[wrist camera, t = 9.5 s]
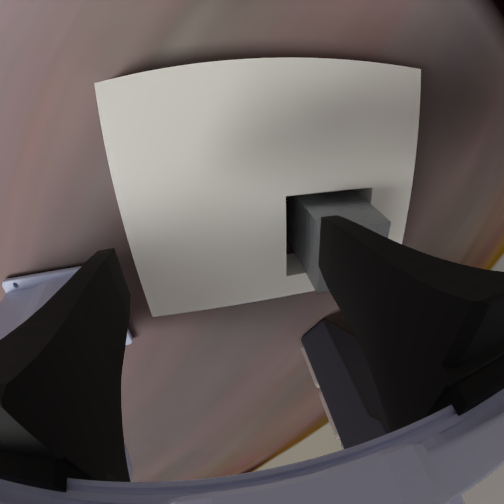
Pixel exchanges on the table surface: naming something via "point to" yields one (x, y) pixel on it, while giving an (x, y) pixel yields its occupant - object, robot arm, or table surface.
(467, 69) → the table surface
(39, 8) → the table surface
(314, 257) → the pin
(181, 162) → the slot board
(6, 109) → the table surface
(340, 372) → the dark grey rectangular block
